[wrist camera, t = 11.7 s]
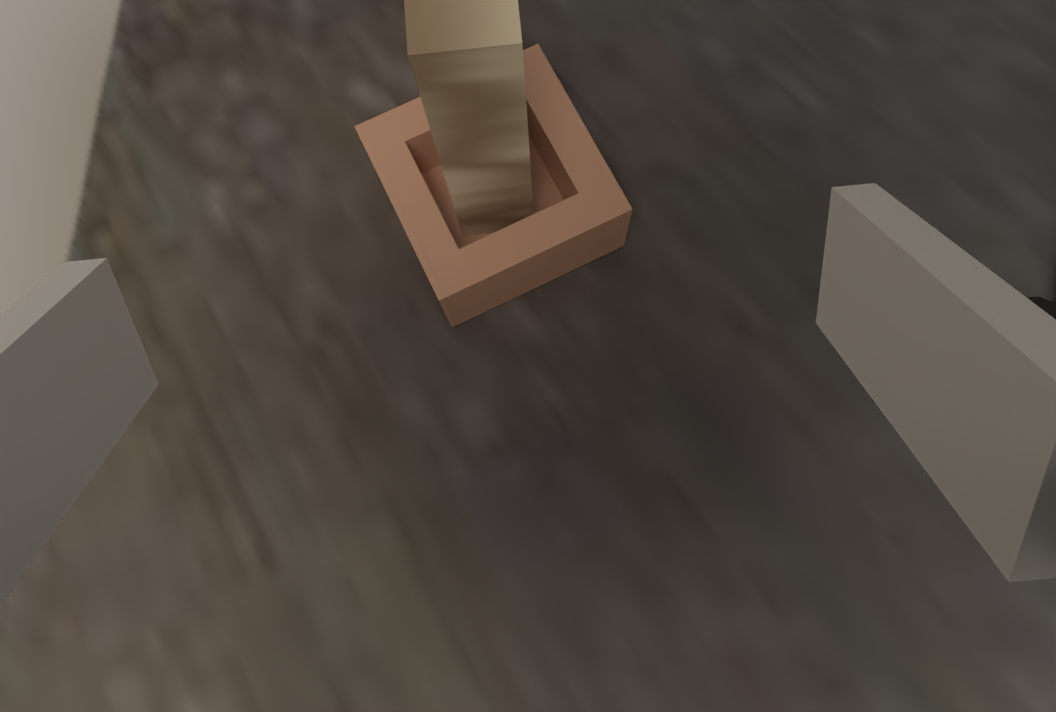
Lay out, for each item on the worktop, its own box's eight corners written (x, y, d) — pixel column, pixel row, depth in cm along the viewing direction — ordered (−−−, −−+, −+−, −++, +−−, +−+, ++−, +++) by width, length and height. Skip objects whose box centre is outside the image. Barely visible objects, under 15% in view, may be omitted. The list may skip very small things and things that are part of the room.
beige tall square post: (527, 163, 32) (512, -54, 20) (534, 228, 31) (522, 42, 20) (457, 170, 32) (401, -42, 21) (462, 236, 31) (407, 55, 20)
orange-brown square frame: (539, 95, 34) (538, 43, 30) (624, 245, 32) (632, 209, 28) (375, 170, 33) (354, 126, 30) (451, 327, 31) (439, 300, 28)
